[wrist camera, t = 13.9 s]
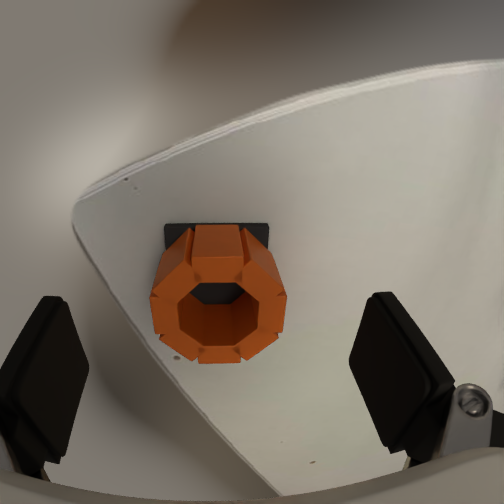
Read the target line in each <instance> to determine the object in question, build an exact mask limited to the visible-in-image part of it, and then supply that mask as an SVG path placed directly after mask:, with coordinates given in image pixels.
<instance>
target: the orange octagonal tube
mask: <svg viewBox="0 0 504 504" xmlns="http://www.w3.org/2000/svg"><path fill="white" fill-rule="evenodd" d="M231 282H236V283H237V284H238V285H239V286H241V287H242V288H243V289H244V290H245V291H246V292H245V293H243V294H242V295H241V296H240V297H239V298H237V299H236V300H235V301H234V302H233V303H231V304H203V303H202V302H200V301H199V300H198V299H197V298H195V297H194V296H193V295H192V294H190V293H189V292H190V291H191V290H193V289H194V288H195V287H196V286H197V285H198V284H199V283H231ZM149 299H150V306H151V312H152V318H153V325H154V331H155V334H160V337H159V340H160V341H162V342H163V343H165V344H166V345H168V346H169V347H171V348H172V349H174V350H175V351H177V352H178V353H180V354H181V355H183V356H184V357H186V358H187V359H189V360H190V361H193V360H195V359H196V358H197V357H198V363H199V364H213V363H240V362H241V357H242V358H243V359H245V360H249V359H250V358H252V357H253V356H254V355H256V354H257V353H259V352H260V351H261V350H263V349H264V348H266V347H267V346H268V345H270V344H271V343H272V342H274V341H275V340H276V339H278V338H279V337H278V333H281V332H282V331H283V324H284V316H285V308H286V300H287V295H286V292H285V289H284V286H283V284H282V281H281V278H280V275H279V272H278V269H277V267H276V264H275V261H274V259H273V256H272V254H271V252H270V251H269V250H268V249H267V248H265V247H264V246H263V245H262V244H261V243H260V242H259V241H258V240H257V239H256V238H255V237H254V236H253V235H252V234H251V233H250V232H249V231H248V230H247V229H246V228H243V229H242V230H241V231H240V232H239V226H238V225H196V227H195V232H194V231H193V230H192V229H191V228H188V229H187V230H186V231H185V232H184V233H183V234H182V235H181V236H180V237H179V238H178V239H177V240H176V241H175V242H174V243H173V244H172V245H171V246H170V247H169V248H168V249H167V250H166V251H165V252H164V253H163V254H162V258H161V261H160V263H159V267H158V270H157V273H156V277H155V280H154V283H153V287H152V290H151V294H150V297H149Z"/></svg>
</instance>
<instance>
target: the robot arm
mask: <svg viewBox="0 0 504 504" xmlns="http://www.w3.org/2000/svg"><path fill="white" fill-rule="evenodd" d="M349 366H350V369H351V371H352V373H353V376H354V378H355V380H356V383H357V385H358V387H359V389H360V392H361V394H362V396H363V399H364V401H365V404H366V406H367V408H368V411H369V413H370V415H371V418H372V420H373V423H374V425H375V427H376V430H377V432H378V435H379V437H380V440H381V442H382V444H383V445H384V446H385V447H388V449H389V451H390V454H392V453H396V452H399V451H402V450H405V451H406V453H407V455H408V456H407V459H406V462H405V464H404V467H403V469H402V471H398V472H395V473H392V474H388V475H385V476H381V477H378V478H374V479H370V480H367V481H363V482H359V483H355V484H351V485H346V486H342V487H337V488H332V489H327V490H322V491H316V492H310V493H304V494H298V495H291V496H283V497H274V498H265V499H254V500H237V501H172V500H156V499H144V498H135V497H126V496H118V495H111V494H105V493H99V492H94V491H88V490H83V489H78V488H74V487H69V486H65V485H60V484H56V483H52V482H50V480H49V478H48V476H47V474H46V472H45V470H44V468H43V467H44V463H45V461H47V462H51V463H56V464H60V459H61V457H63V456H65V454H66V450H67V447H68V443H69V439H70V435H71V431H72V427H73V423H74V420H75V416H76V412H77V409H78V406H79V402H80V398H81V395H82V392H83V389H84V386H85V382H86V379H87V376H88V372H89V363H88V360H87V357H86V355H85V352H84V350H83V347H82V344H81V342H80V339H79V336H78V333H77V330H76V327H75V325H74V322H73V319H72V316H71V312H70V310H69V306H68V304H67V302H65V301H63V299H62V298H61V297H59V296H44V297H43V298H42V299H41V300H40V302H39V303H38V305H37V307H36V308H35V310H34V311H33V313H32V315H31V316H30V318H29V319H28V321H27V323H26V324H25V326H24V328H23V329H22V331H21V333H20V334H19V336H18V338H17V340H16V341H15V343H14V345H13V347H12V348H11V350H10V352H9V354H8V356H7V358H6V359H5V361H4V363H3V365H2V367H1V369H0V504H504V414H503V413H500V412H498V411H495V410H493V404H492V400H491V398H490V396H489V395H488V393H487V392H486V391H485V390H484V389H483V388H481V387H479V386H477V385H475V384H470V383H467V384H462V385H460V386H458V387H457V388H455V386H454V382H455V380H454V378H453V377H452V375H451V374H450V372H449V371H448V369H447V368H446V366H445V365H444V363H443V362H442V360H441V359H440V357H439V356H438V354H437V353H436V351H435V350H434V349H433V347H432V346H431V344H430V343H429V341H428V340H427V339H426V337H425V336H424V334H423V333H422V332H421V330H420V329H419V327H418V326H417V325H416V323H415V322H414V321H413V319H412V318H411V316H410V315H409V314H408V312H407V311H406V310H405V308H404V307H403V306H402V304H401V303H400V302H399V300H398V299H397V298H396V296H395V295H394V294H393V293H392V292H376V293H374V294H373V295H372V297H370V298H368V300H367V302H366V306H365V309H364V313H363V316H362V319H361V322H360V326H359V329H358V332H357V335H356V338H355V341H354V345H353V348H352V351H351V354H350V357H349Z"/></svg>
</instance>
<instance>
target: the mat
mask: <svg viewBox="0 0 504 504" xmlns="http://www.w3.org/2000/svg"><path fill="white" fill-rule="evenodd" d="M196 225H238V226H239V232H240V231H241V230H242V229H243V228H246V229H247V230H248V231H249V232H250V233H251V234H252V235H253V236H254V237H255V238H256V239H257V240H258V241H259V242H260V243H261V244H262V245H263V246H264V247H265V248H267V249H268V238H269V226H268V224H267V223H180V224H165V227H164V232H165V246H166V250H167V249H168V248H169V247H170V246H171V245H172V244H173V243H174V242H175V241H176V240H177V239H178V238H179V237H180V236H181V235H182V234H183V233H184V232H185V231H186V230H187V229H188V228H191V229H192V230H193V231H194V232H195V227H196ZM245 292H246V291H245V290H244V289H243V288H242V287H241V286H239V285H238V284H237V283H236V282H231V283H199V284H198V285H197V286H196V287H195V288H194V289H193V290H191V291H190V292H189V293H190V294H192V295H193V296H194V297H195V298H197V299H198V300H199V301H200V302H202V303H203V304H231V303H233V302H234V301H235V300H236V299H237V298H239V297H240V296H241V295H242V294H243V293H245Z"/></svg>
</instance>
